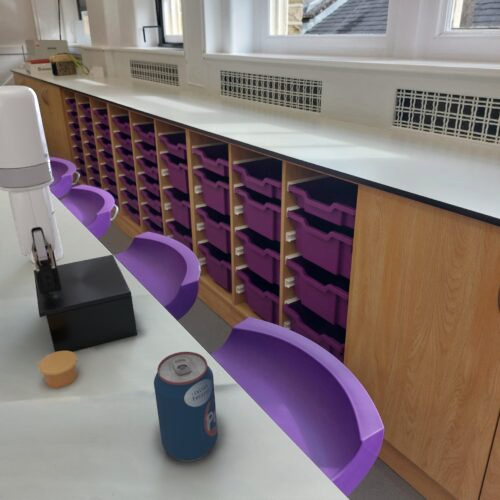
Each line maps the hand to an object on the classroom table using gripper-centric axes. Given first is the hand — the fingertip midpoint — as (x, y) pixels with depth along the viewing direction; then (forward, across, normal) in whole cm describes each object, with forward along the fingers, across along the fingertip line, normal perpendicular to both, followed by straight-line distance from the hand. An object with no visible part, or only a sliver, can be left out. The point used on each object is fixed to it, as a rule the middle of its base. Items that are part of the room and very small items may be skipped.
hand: (49, 281), depth 79 cm
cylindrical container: (+11, -36, 0) cm, 38 cm away
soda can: (+11, +32, +12) cm, 36 cm away
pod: (+11, +14, -1) cm, 17 cm away
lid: (+2, 0, +5) cm, 5 cm away
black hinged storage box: (+11, 0, +5) cm, 12 cm away
